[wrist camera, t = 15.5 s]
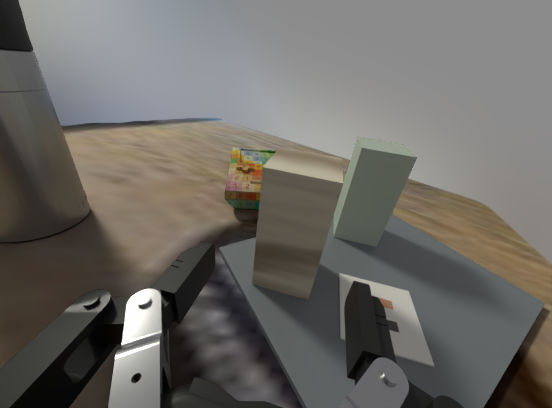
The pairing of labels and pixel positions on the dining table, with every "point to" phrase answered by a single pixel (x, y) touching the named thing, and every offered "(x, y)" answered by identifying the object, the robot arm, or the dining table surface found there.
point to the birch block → (294, 219)
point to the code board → (393, 316)
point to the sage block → (371, 189)
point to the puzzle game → (246, 177)
